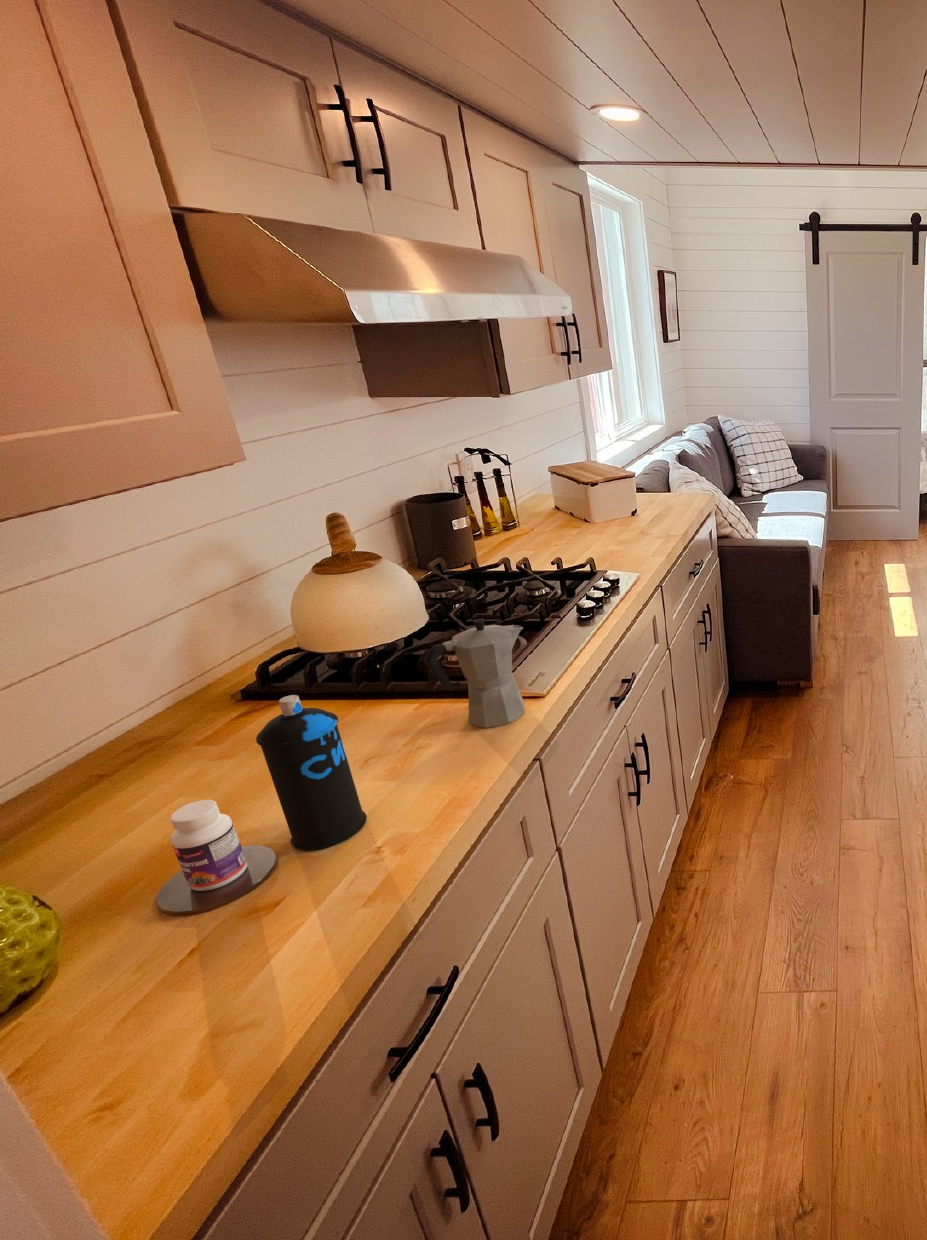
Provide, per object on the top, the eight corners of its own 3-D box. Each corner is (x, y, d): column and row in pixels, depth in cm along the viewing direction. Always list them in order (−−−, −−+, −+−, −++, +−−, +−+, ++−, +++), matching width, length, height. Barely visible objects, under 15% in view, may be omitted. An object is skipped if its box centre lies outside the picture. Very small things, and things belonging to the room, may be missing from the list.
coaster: (134, 924, 79) (132, 920, 79) (192, 857, 89) (190, 853, 89) (250, 904, 82) (248, 900, 82) (294, 842, 92) (292, 838, 92)
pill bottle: (176, 890, 83) (148, 822, 80) (221, 858, 88) (197, 793, 85) (216, 895, 83) (189, 827, 79) (260, 862, 88) (236, 797, 84)
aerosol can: (275, 852, 90) (227, 716, 83) (320, 810, 98) (279, 682, 91) (340, 851, 91) (298, 715, 84) (380, 809, 98) (344, 682, 91)
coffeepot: (523, 691, 130) (507, 601, 124) (547, 709, 124) (531, 615, 118) (432, 724, 119) (408, 627, 113) (453, 745, 113) (430, 644, 107)
